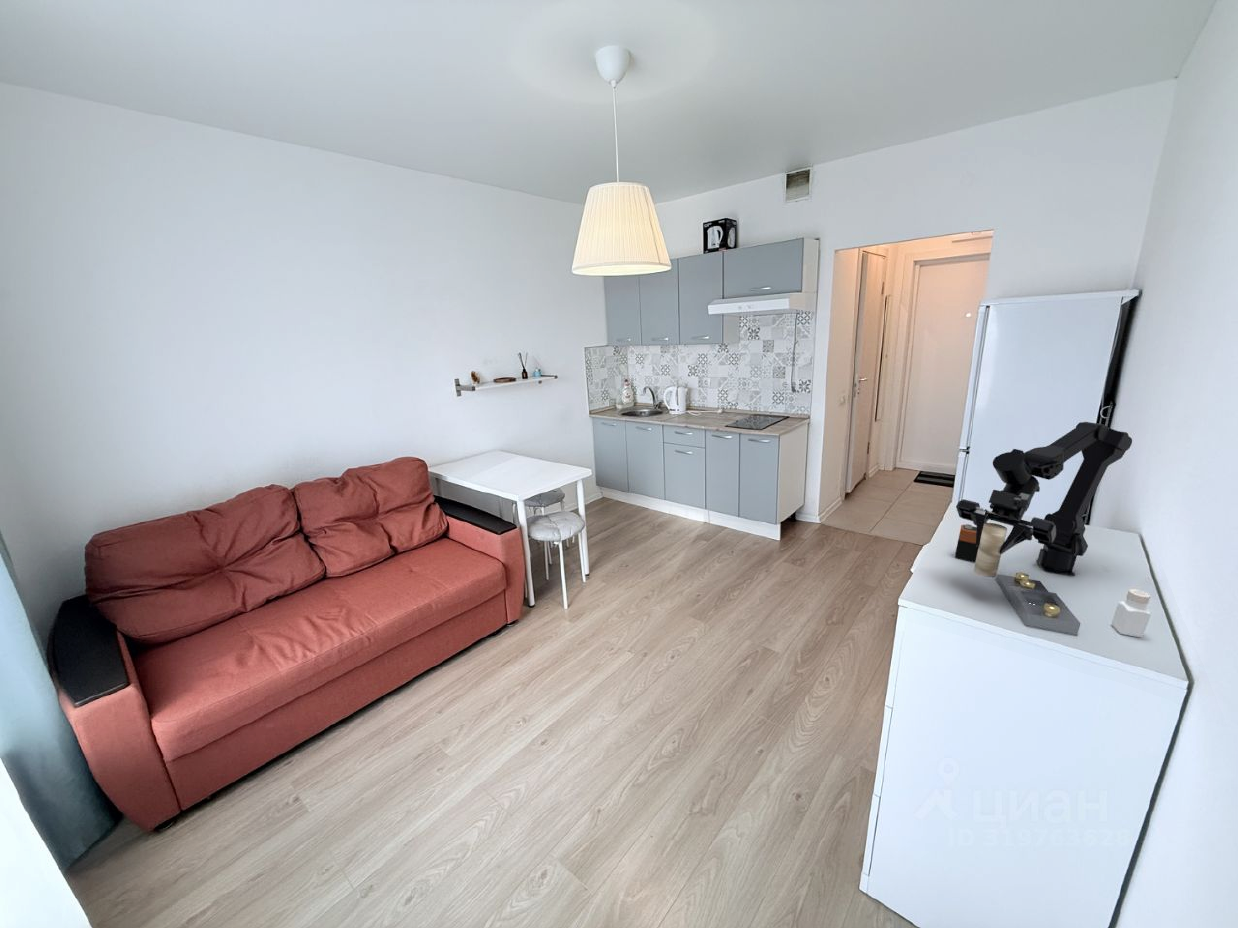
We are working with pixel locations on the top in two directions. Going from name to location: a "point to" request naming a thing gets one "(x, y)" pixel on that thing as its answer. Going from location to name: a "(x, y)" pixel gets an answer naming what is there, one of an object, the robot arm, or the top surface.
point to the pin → (990, 549)
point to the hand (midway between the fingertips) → (988, 549)
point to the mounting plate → (1038, 604)
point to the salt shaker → (1132, 614)
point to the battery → (967, 543)
